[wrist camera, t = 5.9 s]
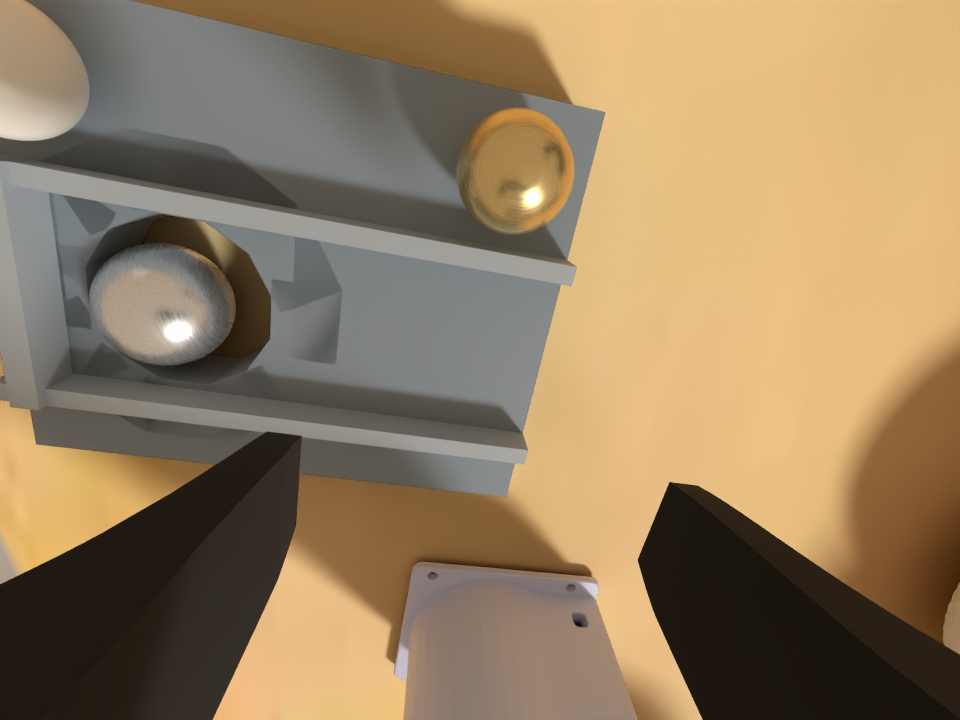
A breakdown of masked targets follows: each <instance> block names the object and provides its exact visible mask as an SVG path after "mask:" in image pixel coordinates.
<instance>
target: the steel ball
mask: <svg viewBox="0 0 960 720" xmlns="http://www.w3.org/2000/svg"><path fill="white" fill-rule="evenodd" d="M89 308H90V313H91V316H92V319H93V322H94V324H95V326H96V327H97V329H98V331H99V332H100V334H101V335H102V336H103V338H104V339H105V340H106V341H107V342H108V343H109V344H110V345H112V346H113V347H114V348H115V349H117V350H118V351H120V352H121V353H123V354H124V355H126V356H129V357H131V358H133V359H135V360H138V361H141V362H145V363H149V364H154V365H180V364H185V363H189V362H192V361H196V360H198V359H200V358H203V357H205V356H206V355H208V354H210V353H211V352H213V351H214V350H215V349H216V348H217V347H219V346H220V345H221V344H222V342H223V341H224V340H225V339H226V337H227V336H228V334H229V333H230V331H231V328H232V326H233V323H234V320H235V313H236V303H235V296H234V293H233V290H232V287H231V285H230V283H229V281H228V280H227V278H226V276H225V275H224V274H223V272H222V271H221V270H220V269H219V268H218V267H217V266H216V265H215V264H214V263H213V262H212V261H210V260H209V259H208V258H206V257H205V256H203V255H201V254H200V253H198V252H196V251H194V250H191V249H188V248H186V247H183V246H179V245H175V244H168V243H147V244H141V245H137V246H133V247H130V248H127V249H125V250H122V251H121V252H119V253H117V254H115V255H114V256H113V257H111V258H110V259H109V260H108V261H106V262H105V263H104V264H103V266H102V267H101V268H100V269H99V270H98V272H97V274H96V275H95V277H94V279H93V281H92V284H91V287H90V293H89Z"/></svg>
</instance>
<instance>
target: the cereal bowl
mask: <svg viewBox="0 0 960 720" xmlns="http://www.w3.org/2000/svg"><path fill="white" fill-rule="evenodd" d="M942 638H943V642H944V645H945V646H946V647H948V648H950V649H951V650H953V651H955V652H957V653H958V654H960V583H959V584H958V587H957V589H956V590H955V591H954V593H953V595H952V600H951V602H950V603H949V605H948V609H947V613H946V614H945V623H944V625H943V637H942Z"/></svg>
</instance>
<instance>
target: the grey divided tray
mask: <svg viewBox="0 0 960 720" xmlns="http://www.w3.org/2000/svg"><path fill="white" fill-rule="evenodd" d="M25 1H27V2H29V3H30V4H32V5H33V6H34V7H36V8H37V9H39V10H40V11H41V12H43V13H44V14H45V15H46V16H48V17H49V18H50V19H51V20H52V21H53V22H54V23H55V24H56V25H57V26H58V27H59V28H60V29H61V30H62V31H63V32H64V33H65V34H66V36H67V37H68V38H69V39H70V41H71V42H72V44H73V45H74V47H75V48H76V50H77V51H78V53H79V55H80V57H81V59H82V61H83V63H84V66H85V68H86V71H87V75H88V80H89V89H90V95H89V102H88V106H87V109H86V111H85V114H84V115H83V117H82V118H81V120H80V121H79V122H78V123H77V124H76V125H75V126H74V127H73V128H72V129H70V130H69V131H67V132H65V133H63V134H61V135H59V136H57V137H53V138H50V139H45V140H38V141H20V140H12V139H6V138H2V137H0V355H1V360H2V365H3V370H4V376H2V377H0V400H3V401H9V402H10V407H15V408H23V409H30V411H31V417H32V423H33V429H34V434H35V440H36V444H38V445H47V446H56V447H65V448H74V449H83V450H91V451H100V452H109V453H118V454H127V455H136V456H145V457H154V458H163V459H172V460H181V461H190V462H199V463H207V464H218V463H219V462H221V461H222V460H224V459H225V458H227V457H228V456H230V455H231V454H233V453H234V452H236V451H237V450H239V449H240V448H242V447H244V446H245V445H247V444H248V443H250V442H251V441H253V440H254V439H256V438H257V437H259V436H260V435H262V434H264V433H265V432H267V431H268V432H276V433H284V434H292V435H300V436H302V442H301V457H300V472H299V474H306V475H314V476H323V477H332V478H341V479H350V480H359V481H368V482H377V483H386V484H395V485H404V486H413V487H421V488H430V489H439V490H448V491H457V492H466V493H475V494H484V495H493V496H502V497H506V495H507V491H508V487H509V483H510V479H511V475H512V472H513V468H514V464H515V463H517V464H524V463H525V459H526V455H527V452H528V449H527V446H526V443H525V439H524V436H523V429H524V425H525V421H526V417H527V414H528V410H529V406H530V402H531V398H532V394H533V390H534V386H535V383H536V379H537V375H538V371H539V367H540V363H541V359H542V355H543V352H544V348H545V344H546V340H547V336H548V332H549V328H550V324H551V321H552V317H553V313H554V309H555V305H556V301H557V297H558V293H559V290H560V286H561V284H562V285H568V286H572V283H573V279H574V276H575V272H576V268H577V267H576V266H575V265H573V264H572V263H570V262H569V261H568V260H567V259H568V255H569V251H570V247H571V243H572V239H573V235H574V232H575V228H576V224H577V220H578V216H579V212H580V208H581V204H582V201H583V197H584V193H585V189H586V185H587V181H588V177H589V173H590V170H591V166H592V162H593V158H594V154H595V150H596V146H597V142H598V139H599V135H600V131H601V127H602V123H603V119H604V115H605V112H602V111H598V110H594V109H589V108H585V107H581V106H577V105H572V104H568V103H564V102H560V101H556V100H551V99H547V98H543V97H539V96H534V95H530V94H526V93H522V92H517V91H513V90H509V89H505V88H500V87H496V86H492V85H488V84H483V83H479V82H475V81H471V80H466V79H462V78H458V77H454V76H449V75H445V74H441V73H437V72H433V71H428V70H424V69H420V68H416V67H411V66H407V65H403V64H399V63H394V62H390V61H386V60H382V59H377V58H373V57H369V56H365V55H360V54H356V53H352V52H348V51H343V50H339V49H335V48H331V47H327V46H322V45H318V44H314V43H310V42H305V41H301V40H297V39H293V38H288V37H284V36H280V35H276V34H271V33H267V32H263V31H259V30H254V29H250V28H246V27H242V26H237V25H233V24H229V23H225V22H220V21H216V20H212V19H208V18H204V17H199V16H195V15H191V14H187V13H182V12H178V11H174V10H170V9H165V8H161V7H157V6H153V5H148V4H144V3H140V2H136V1H131V0H25ZM507 108H527V109H531V110H534V111H537V112H539V113H542V114H544V115H545V116H547V117H548V118H550V119H551V120H552V121H553V122H554V123H555V124H557V125H558V127H559V128H560V129H561V130H562V131H563V133H564V135H565V136H566V138H567V140H568V142H569V144H570V146H571V150H572V153H573V158H574V168H575V171H574V181H573V186H572V189H571V193H570V195H569V197H568V200H567V202H566V203H565V205H564V207H563V208H562V210H561V211H560V212H559V213H558V215H557V216H556V217H555V218H554V219H553V220H551V221H550V222H549V223H547V224H546V225H544V226H543V227H541V228H539V229H537V230H535V231H533V232H529V233H526V234H520V235H508V234H502V233H498V232H495V231H493V230H490V229H488V228H487V227H485V226H483V225H482V224H480V223H479V222H478V221H477V220H476V219H475V218H474V217H473V216H472V215H471V214H470V213H469V211H468V210H467V209H466V207H465V205H464V204H463V202H462V199H461V197H460V194H459V191H458V187H457V180H456V166H457V159H458V155H459V152H460V149H461V146H462V144H463V142H464V140H465V138H466V137H467V135H468V134H469V132H470V131H471V130H472V129H473V127H474V126H475V125H476V124H477V123H479V122H480V121H481V120H482V119H484V118H485V117H487V116H488V115H490V114H492V113H494V112H497V111H500V110H503V109H507ZM168 215H172V216H177V217H183V218H188V219H194V220H199V221H204V222H206V223H207V224H208V225H210V226H211V227H213V228H214V229H215V230H217V231H218V232H219V233H221V234H222V235H224V236H225V237H226V238H228V239H229V240H230V241H232V242H233V243H235V244H236V245H237V246H239V247H240V248H241V249H243V250H244V251H246V252H247V253H248V254H249V256H250V258H251V260H252V262H253V263H254V265H255V267H256V269H257V271H258V273H259V275H260V276H261V278H262V280H263V282H264V284H265V286H266V288H267V289H268V291H269V293H270V295H271V327H270V340H269V341H268V343H267V344H266V345H265V347H264V348H263V349H260V350H257V351H254V352H251V353H249V354H246V355H243V356H240V357H238V358H236V357H229V356H222V355H215V354H208V355H206V356H205V357H203V358H200V359H198V360H196V361H192V362H189V363H185V364H180V365H154V364H149V363H145V362H141V361H138V360H135V359H133V358H131V357H129V356H126V355H124V354H123V353H121V352H120V351H118V350H117V349H115V348H114V347H113V346H112V345H110V344H109V343H108V342H107V341H106V340H105V339H104V338H103V336H102V335H101V334H100V332H99V331H98V329H97V327H96V326H95V324H94V322H93V319H92V316H91V313H90V308H89V293H90V287H91V284H92V281H93V279H94V277H95V275H96V274H97V272H98V270H99V269H100V268H101V267H102V266H103V264H104V263H105V262H106V261H108V260H109V259H110V258H111V257H113V256H114V255H115V254H117V253H119V252H121V251H122V250H125V249H127V248H130V247H133V246H137V245H140V244H141V242H142V241H143V239H144V237H145V236H146V234H147V233H148V231H149V229H150V228H151V226H152V224H153V223H154V221H155V220H158V219H161V218H163V217H166V216H168Z"/></svg>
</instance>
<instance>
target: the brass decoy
mask: <svg viewBox="0 0 960 720" xmlns="http://www.w3.org/2000/svg"><path fill="white" fill-rule="evenodd" d="M574 171H575V168H574V158H573V153H572V150H571V146H570V144H569V142H568V140H567V138H566V136H565V135H564V133H563V131H562V130H561V129H560V128H559V127H558V125H557V124H555V123H554V122H553V121H552V120H551V119H550V118H548V117H547V116H545V115H544V114H542V113H539V112H537V111H534V110H531V109H527V108H507V109H503V110H500V111H497V112H494V113H492V114H490V115H488V116H487V117H485V118H484V119H482V120H481V121H480V122H479V123H477V124H476V125H475V126H474V127H473V129H472V130H471V131H470V132H469V134H468V135H467V137H466V138H465V140H464V142H463V144H462V146H461V149H460V152H459V155H458V159H457V166H456V180H457V187H458V191H459V194H460V197H461V199H462V202H463V204H464V205H465V207H466V209H467V210H468V211H469V213H470V214H471V215H472V216H473V217H474V218H475V219H476V220H477V221H478V222H479V223H480V224H482V225H483V226H485V227H487V228H488V229H490V230H493V231H495V232H498V233H502V234H508V235H520V234H526V233H529V232H533V231H535V230H537V229H539V228H541V227H543V226H544V225H546V224H547V223H549V222H550V221H551V220H553V219H554V218H555V217H556V216H557V215H558V213H559V212H560V211H561V210H562V208H563V207H564V205H565V203H566V202H567V200H568V197H569V195H570V193H571V189H572V186H573V181H574Z"/></svg>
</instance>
